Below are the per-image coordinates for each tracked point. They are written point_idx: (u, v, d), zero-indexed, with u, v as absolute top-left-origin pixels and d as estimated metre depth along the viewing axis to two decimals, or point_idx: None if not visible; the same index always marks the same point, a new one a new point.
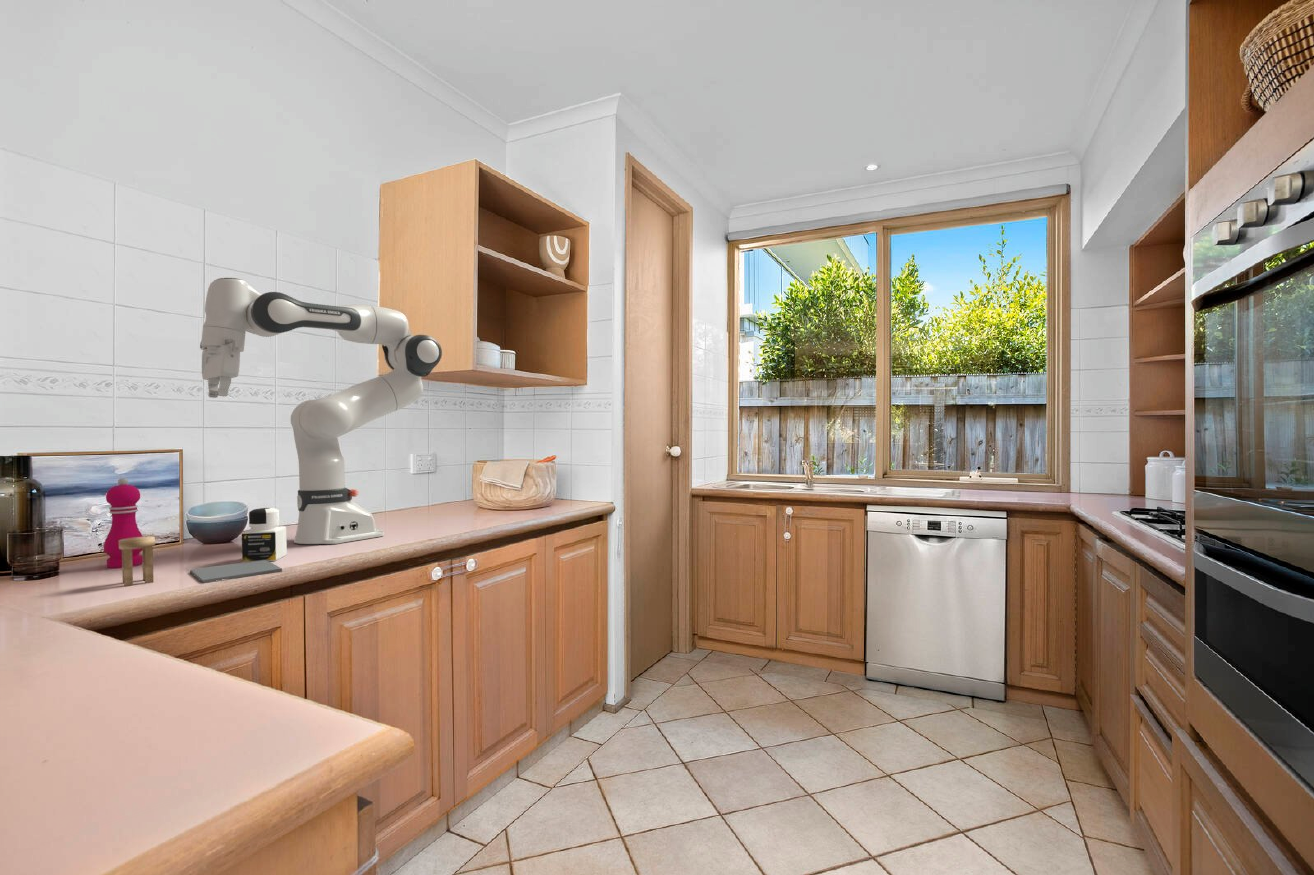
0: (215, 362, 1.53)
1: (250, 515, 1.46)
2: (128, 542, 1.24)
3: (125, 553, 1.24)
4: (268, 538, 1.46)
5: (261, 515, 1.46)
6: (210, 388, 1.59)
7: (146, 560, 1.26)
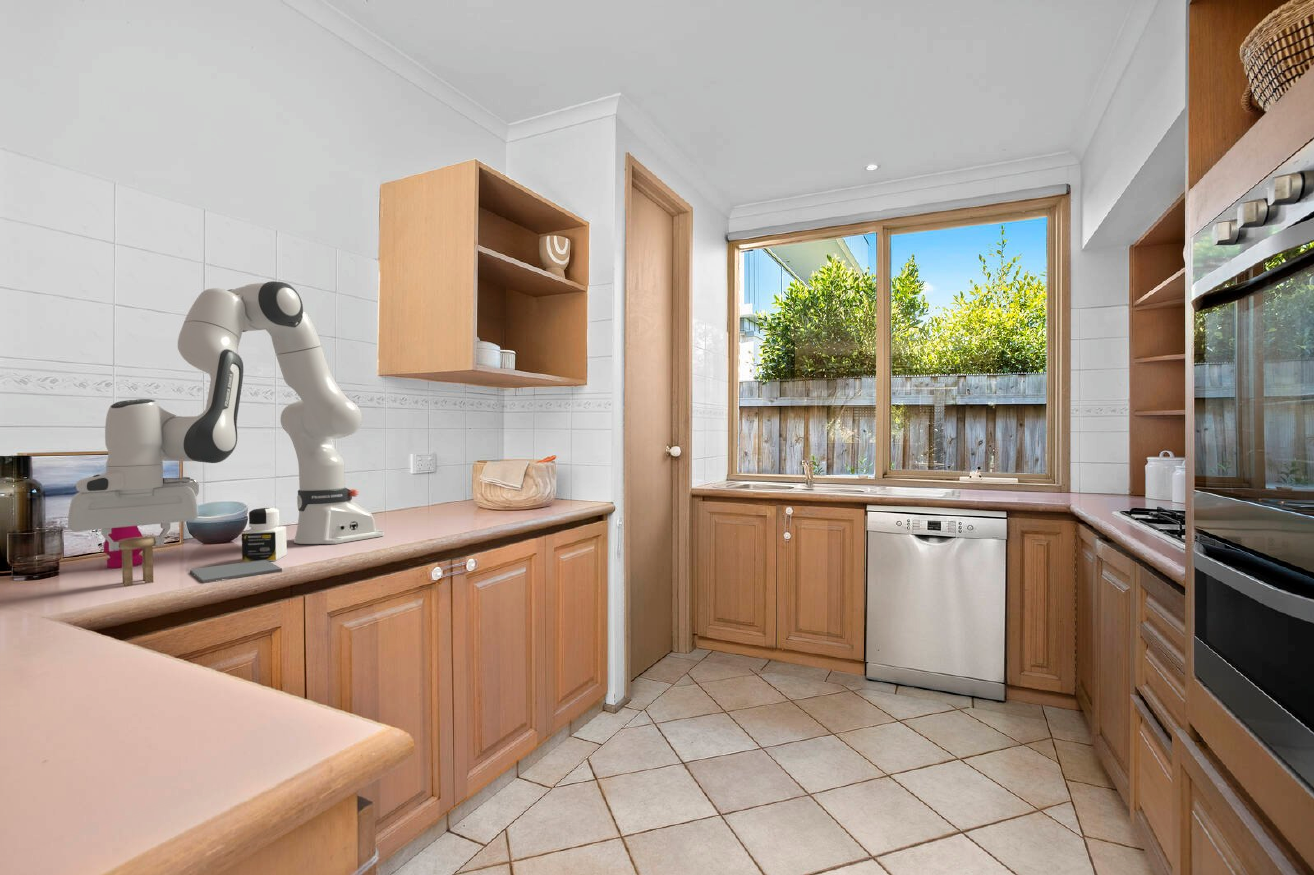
0: (156, 507, 1.28)
1: (250, 515, 1.46)
2: (128, 542, 1.24)
3: (125, 553, 1.24)
4: (268, 538, 1.46)
5: (261, 515, 1.46)
6: None
7: (146, 560, 1.26)
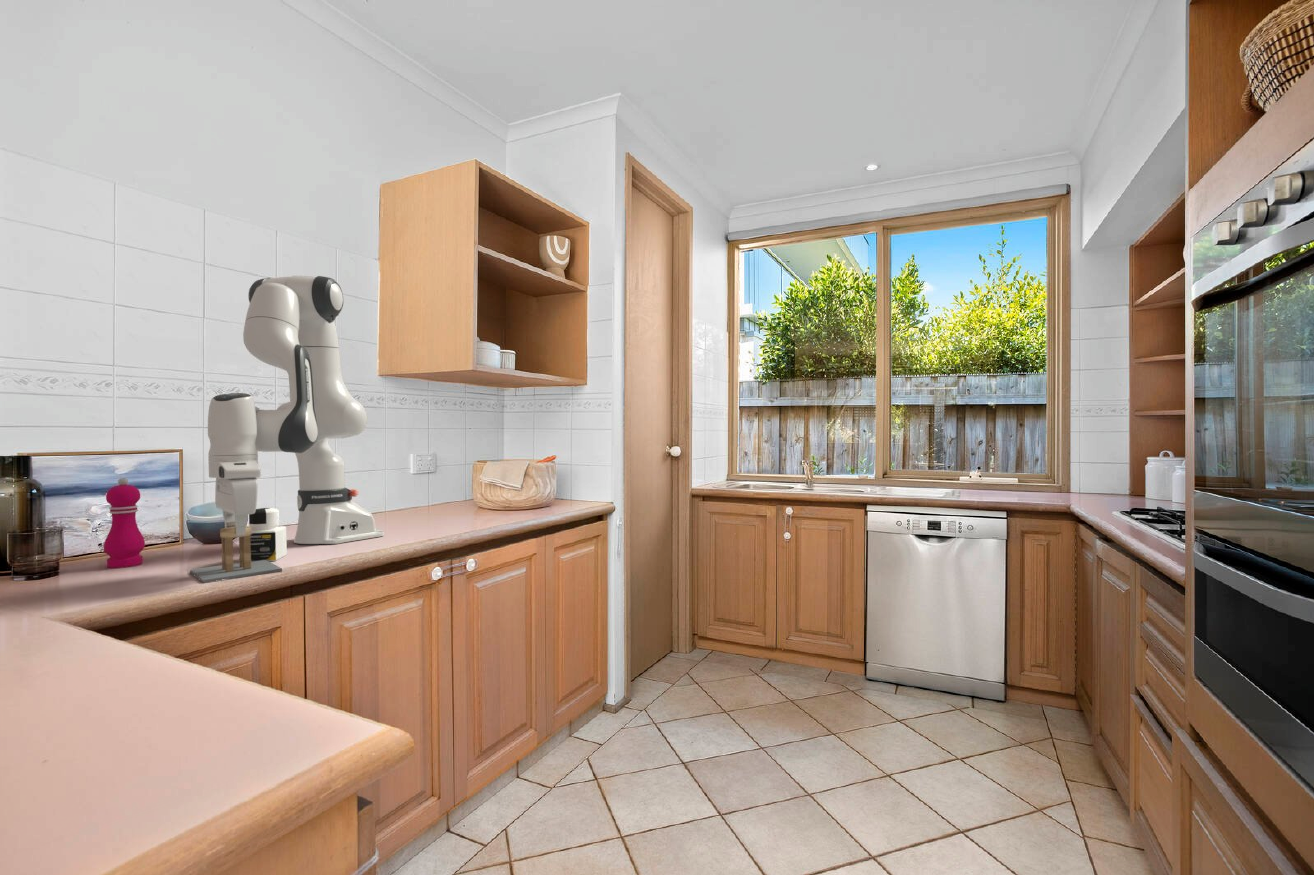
0: None
1: (250, 515, 1.46)
2: (250, 528, 1.36)
3: None
4: (268, 538, 1.46)
5: (261, 515, 1.46)
6: None
7: None
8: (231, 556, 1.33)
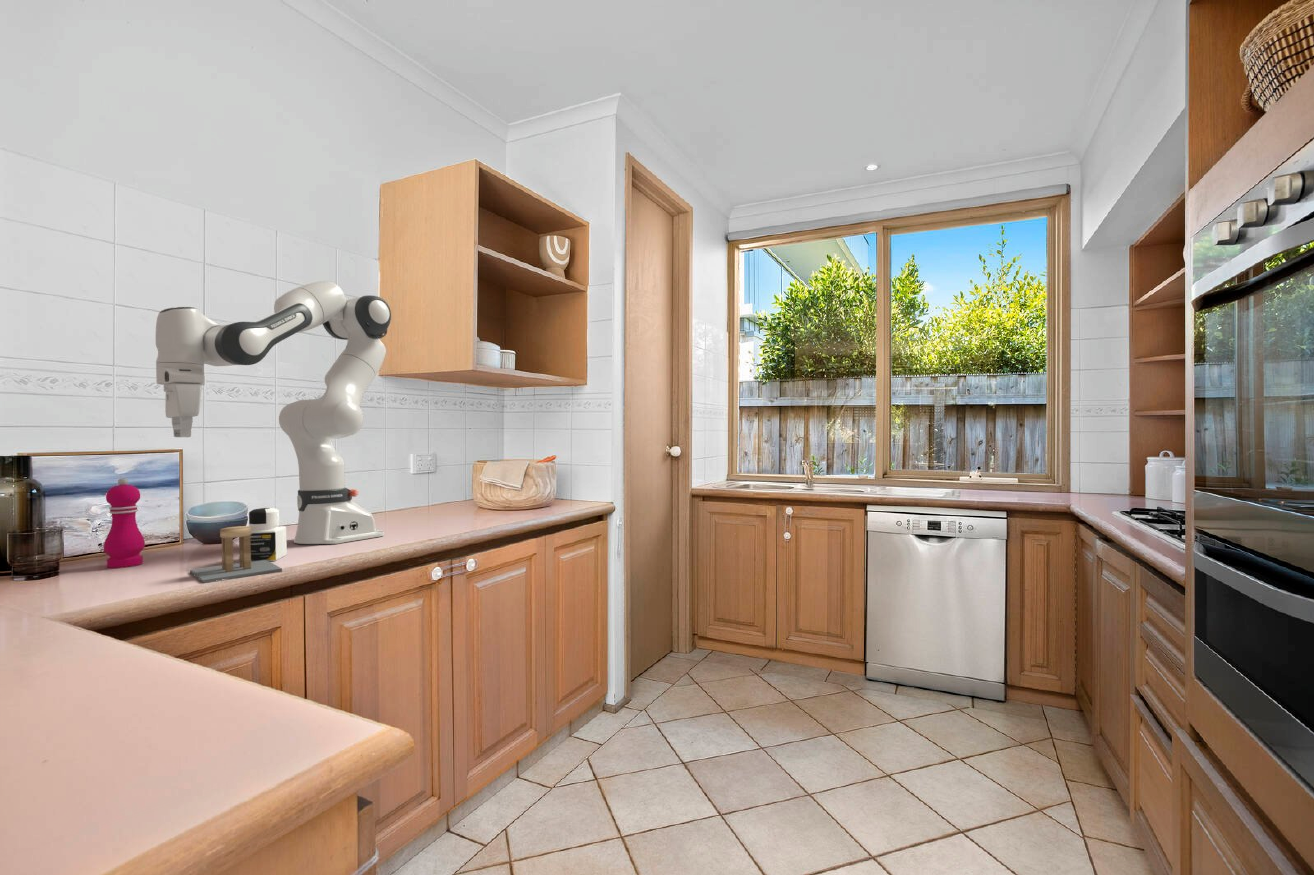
0: None
1: (250, 515, 1.46)
2: (250, 528, 1.36)
3: None
4: (268, 538, 1.46)
5: (261, 515, 1.46)
6: None
7: None
8: (231, 556, 1.33)
